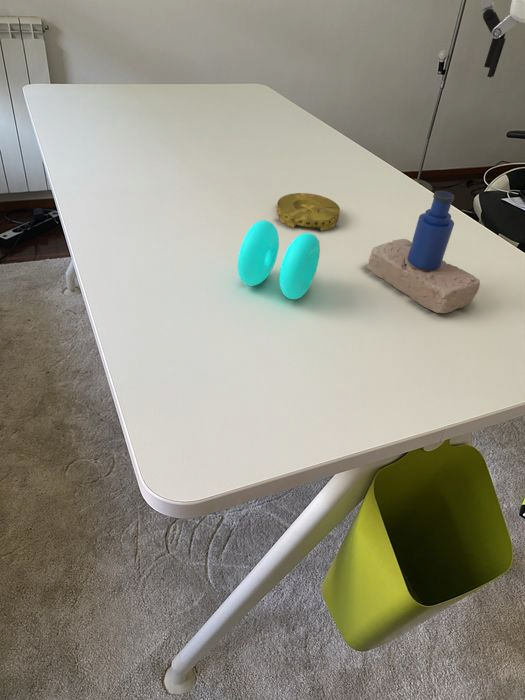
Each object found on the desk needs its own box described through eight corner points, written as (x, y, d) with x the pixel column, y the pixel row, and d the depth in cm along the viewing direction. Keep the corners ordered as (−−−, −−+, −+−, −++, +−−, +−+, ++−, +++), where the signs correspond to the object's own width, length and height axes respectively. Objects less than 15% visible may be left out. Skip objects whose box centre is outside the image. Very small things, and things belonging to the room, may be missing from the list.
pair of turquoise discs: (260, 265, 91) (266, 208, 84) (317, 282, 88) (326, 225, 81) (232, 293, 83) (235, 233, 77) (293, 313, 80) (301, 253, 74)
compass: (336, 206, 111) (338, 196, 110) (339, 234, 102) (341, 223, 100) (277, 200, 111) (278, 190, 110) (275, 227, 102) (276, 216, 100)
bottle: (442, 258, 88) (464, 192, 81) (438, 273, 84) (460, 205, 77) (410, 250, 89) (429, 184, 82) (404, 264, 85) (423, 196, 78)
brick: (363, 269, 92) (369, 244, 89) (398, 257, 96) (404, 233, 94) (439, 320, 82) (448, 294, 79) (474, 305, 87) (484, 279, 84)
